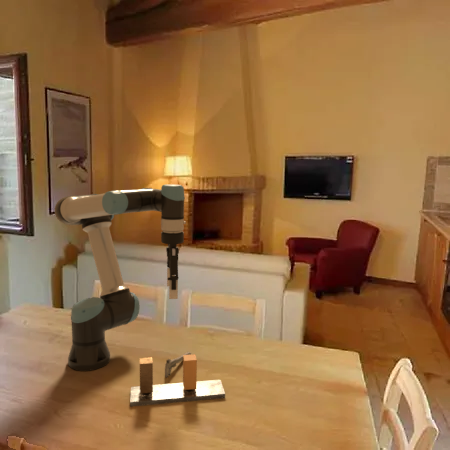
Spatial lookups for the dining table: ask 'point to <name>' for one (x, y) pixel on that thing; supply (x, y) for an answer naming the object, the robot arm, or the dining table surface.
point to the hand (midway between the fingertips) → (172, 292)
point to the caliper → (173, 364)
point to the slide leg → (189, 372)
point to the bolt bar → (170, 389)
